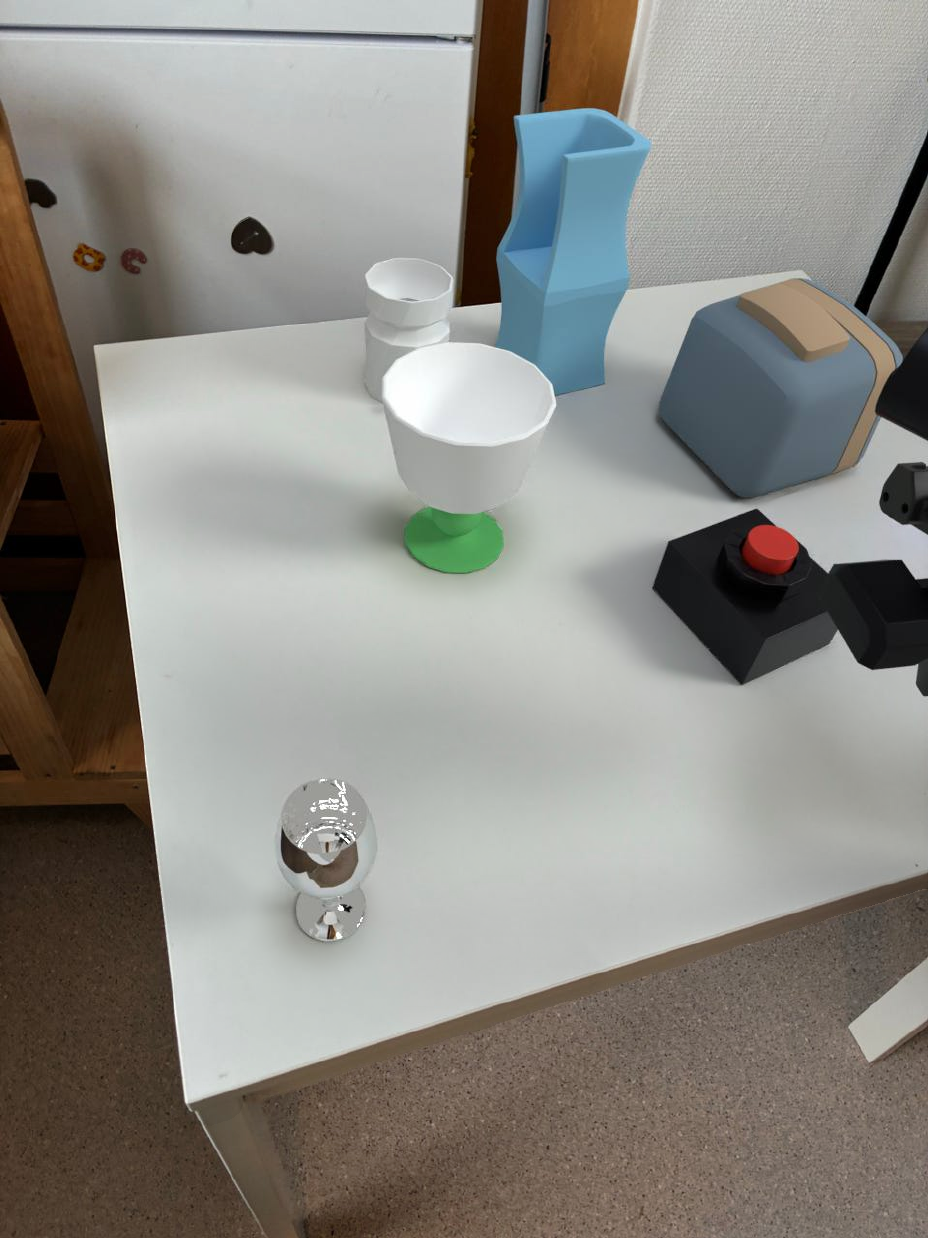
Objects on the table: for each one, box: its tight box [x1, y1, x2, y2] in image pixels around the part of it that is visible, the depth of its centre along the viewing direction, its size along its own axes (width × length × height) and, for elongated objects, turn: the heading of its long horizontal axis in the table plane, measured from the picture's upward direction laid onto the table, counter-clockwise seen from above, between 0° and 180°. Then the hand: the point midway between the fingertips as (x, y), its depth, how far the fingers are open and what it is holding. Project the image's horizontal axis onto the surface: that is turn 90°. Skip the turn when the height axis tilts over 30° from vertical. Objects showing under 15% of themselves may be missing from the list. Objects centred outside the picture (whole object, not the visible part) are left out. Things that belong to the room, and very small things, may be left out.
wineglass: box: [274, 778, 378, 943], centre depth 53 cm, size 6×6×12 cm
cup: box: [381, 341, 557, 574], centre depth 76 cm, size 14×14×16 cm
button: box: [742, 525, 799, 575], centre depth 72 cm, size 4×4×2 cm
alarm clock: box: [658, 277, 904, 498], centre depth 89 cm, size 16×16×16 cm
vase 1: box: [363, 257, 454, 404], centre depth 92 cm, size 9×9×12 cm
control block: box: [651, 507, 839, 686], centre depth 75 cm, size 12×10×8 cm
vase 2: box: [494, 107, 652, 397], centre depth 91 cm, size 10×10×25 cm
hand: (924, 690), depth 57 cm, fingers closed
